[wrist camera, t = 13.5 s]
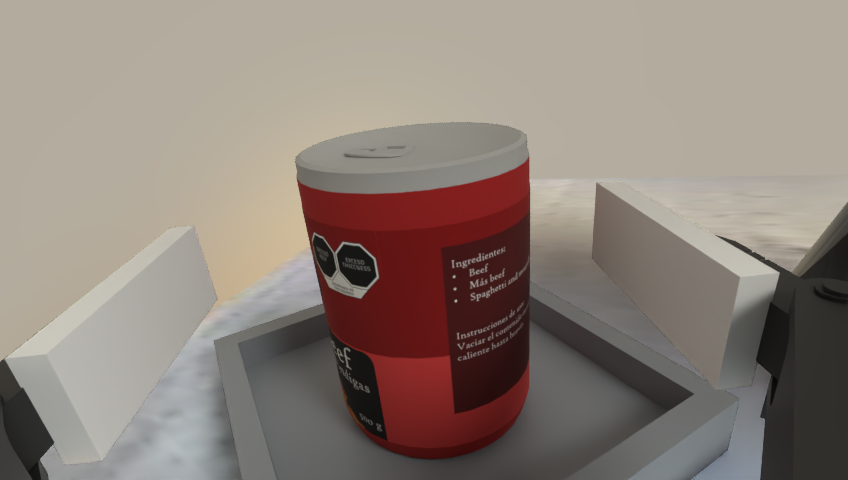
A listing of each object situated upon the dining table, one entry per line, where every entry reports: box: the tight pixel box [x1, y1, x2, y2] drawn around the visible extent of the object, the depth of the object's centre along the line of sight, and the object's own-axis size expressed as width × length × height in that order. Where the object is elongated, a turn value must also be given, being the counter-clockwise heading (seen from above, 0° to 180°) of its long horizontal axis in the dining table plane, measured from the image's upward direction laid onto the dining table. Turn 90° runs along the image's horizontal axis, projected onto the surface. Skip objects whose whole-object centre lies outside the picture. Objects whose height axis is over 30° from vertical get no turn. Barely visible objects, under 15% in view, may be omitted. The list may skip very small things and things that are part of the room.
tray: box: [214, 282, 740, 480], centre depth 20 cm, size 16×16×2 cm
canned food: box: [295, 122, 530, 459], centre depth 17 cm, size 8×8×11 cm
